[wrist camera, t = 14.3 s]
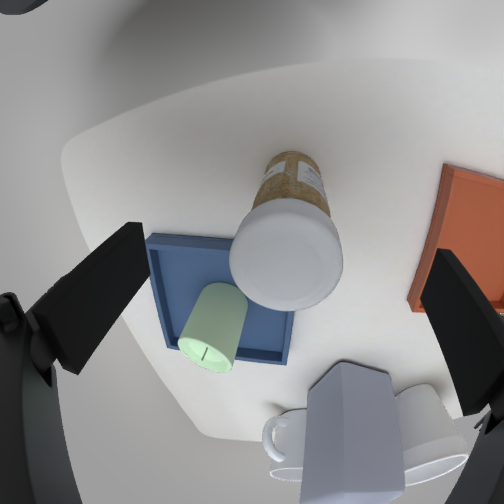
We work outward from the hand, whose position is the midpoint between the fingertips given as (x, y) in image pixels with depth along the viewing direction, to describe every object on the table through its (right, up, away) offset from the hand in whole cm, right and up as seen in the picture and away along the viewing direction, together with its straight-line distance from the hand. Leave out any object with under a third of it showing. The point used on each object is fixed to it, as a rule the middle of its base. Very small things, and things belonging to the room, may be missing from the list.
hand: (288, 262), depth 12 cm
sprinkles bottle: (+2, +6, +11) cm, 13 cm away
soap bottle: (+11, -17, +22) cm, 30 cm away
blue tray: (-4, -4, +18) cm, 19 cm away
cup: (+23, -22, +23) cm, 39 cm away
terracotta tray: (+21, +1, +10) cm, 24 cm away
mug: (+5, -25, +28) cm, 38 cm away
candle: (-4, -4, +17) cm, 18 cm away
